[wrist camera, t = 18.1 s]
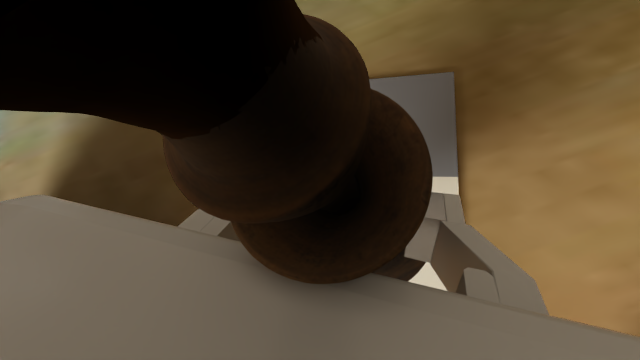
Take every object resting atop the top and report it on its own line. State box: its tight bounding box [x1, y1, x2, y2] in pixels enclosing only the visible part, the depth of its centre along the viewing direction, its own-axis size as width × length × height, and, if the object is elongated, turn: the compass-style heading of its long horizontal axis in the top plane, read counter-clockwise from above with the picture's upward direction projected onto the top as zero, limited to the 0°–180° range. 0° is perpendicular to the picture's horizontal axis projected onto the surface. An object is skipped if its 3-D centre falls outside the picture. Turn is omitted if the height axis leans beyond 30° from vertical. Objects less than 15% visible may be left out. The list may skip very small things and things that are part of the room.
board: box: [369, 72, 459, 291], centre depth 26 cm, size 14×22×1 cm, turn 176°
